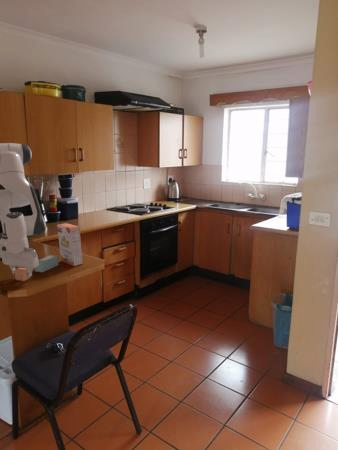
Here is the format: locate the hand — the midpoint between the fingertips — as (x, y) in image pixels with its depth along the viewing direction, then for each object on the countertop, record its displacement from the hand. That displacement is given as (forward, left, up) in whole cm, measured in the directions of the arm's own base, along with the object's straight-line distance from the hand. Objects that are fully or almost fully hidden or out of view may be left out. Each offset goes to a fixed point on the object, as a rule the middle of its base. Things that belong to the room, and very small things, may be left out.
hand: (22, 274), depth 167 cm
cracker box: (+7, +27, -2) cm, 28 cm away
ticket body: (0, +16, -2) cm, 16 cm away
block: (0, 0, -2) cm, 2 cm away
